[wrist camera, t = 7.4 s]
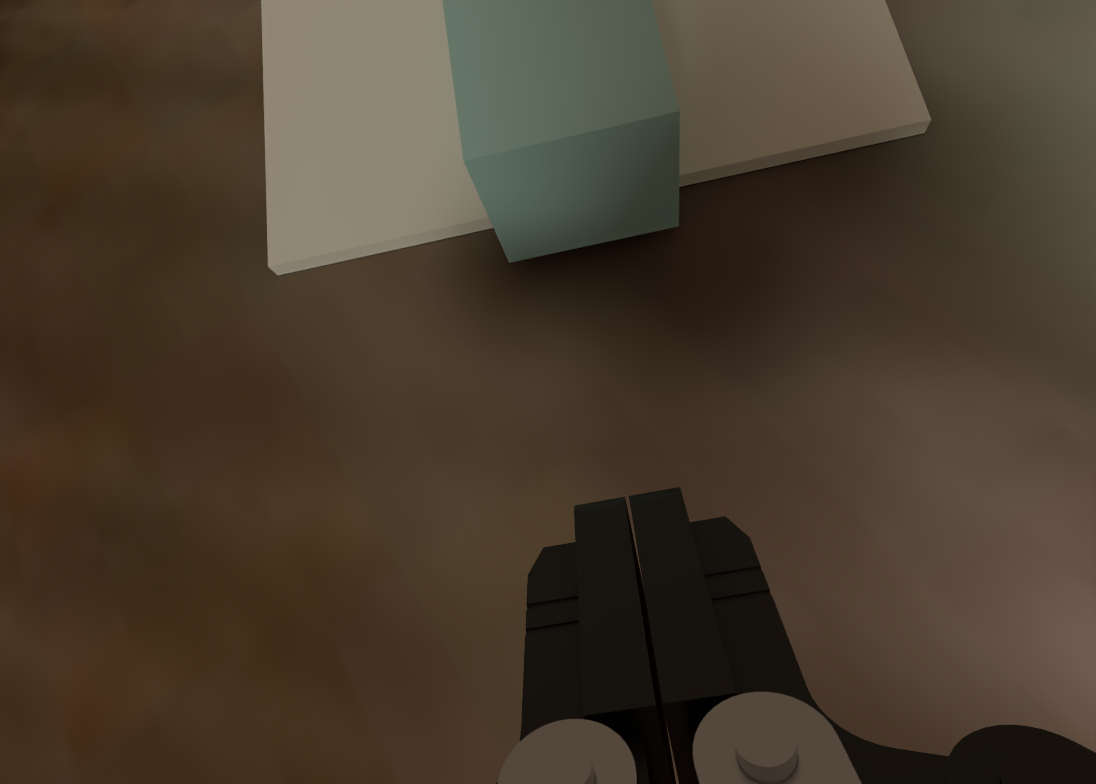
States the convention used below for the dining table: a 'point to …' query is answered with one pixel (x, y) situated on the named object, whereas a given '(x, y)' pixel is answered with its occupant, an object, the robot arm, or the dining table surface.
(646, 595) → the robot arm
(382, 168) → the cream mat
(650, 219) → the teal block
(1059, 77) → the dining table surface
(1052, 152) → the dining table surface
